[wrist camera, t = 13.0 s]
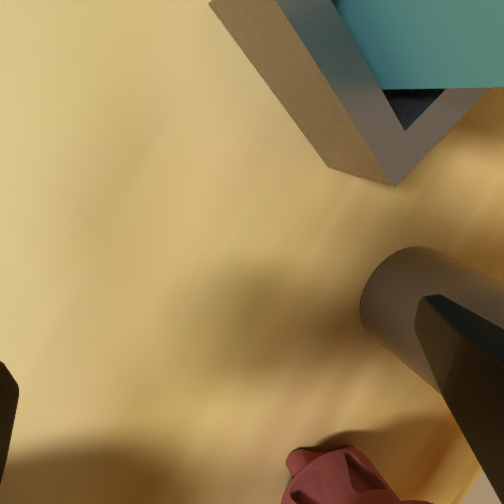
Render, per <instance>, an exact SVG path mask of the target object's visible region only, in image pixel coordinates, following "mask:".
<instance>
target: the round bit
mask: <svg viewBox="0 0 504 504" xmlns="http://www.w3.org/2000/svg"><path fill="white" fill-rule="evenodd" d="M431 294H441V295H443V296H445V297H447V298H449V299H451V300H453V301H454V302H456V303H458V304H460V305H462V306H464V307H465V308H467V309H469V310H471V311H473V312H475V313H476V314H478V315H480V316H482V317H484V318H485V319H487V320H489V321H491V322H493V323H495V324H496V325H498V326H500V327H502V328H504V283H503V282H501V281H498V280H496V279H494V278H492V277H490V276H487V275H485V274H483V273H481V272H479V271H476V270H474V269H472V268H470V267H467V266H465V265H463V264H461V263H459V262H456V261H454V260H452V259H450V258H448V257H445V256H443V255H441V254H439V253H436V252H434V251H432V250H430V249H428V248H424V247H418V246H416V247H409V248H405V249H402V250H400V251H398V252H396V253H394V254H392V255H391V256H389V257H388V258H387V259H385V260H384V261H383V262H382V263H381V264H380V265H379V266H378V267H377V268H376V270H375V271H374V272H373V274H372V275H371V276H370V278H369V280H368V282H367V283H366V286H365V288H364V290H363V293H362V297H361V302H360V317H361V322H362V324H363V326H364V328H365V330H366V331H367V332H368V333H369V334H370V335H371V336H373V337H374V338H375V339H376V340H377V341H378V342H380V343H381V344H382V345H383V346H384V347H386V348H387V349H388V350H389V351H390V352H391V353H393V354H394V355H395V356H396V357H397V358H399V359H400V360H401V361H402V362H403V363H404V364H406V365H407V366H408V367H409V368H410V369H412V370H413V371H414V372H415V373H416V374H418V375H419V376H420V377H421V378H422V379H423V380H425V381H426V382H427V383H428V384H429V385H431V386H432V387H433V388H434V389H435V390H436V391H438V392H439V393H440V394H441V392H440V390H439V387H438V385H437V383H436V381H435V378H434V376H433V373H432V371H431V369H430V366H429V364H428V362H427V359H426V357H425V354H424V352H423V350H422V347H421V345H420V342H419V340H418V338H417V335H416V333H415V329H414V320H415V315H416V310H417V306H418V301H419V299H420V297H422V296H425V295H431ZM441 395H442V394H441Z"/></svg>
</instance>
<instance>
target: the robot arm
mask: <svg viewBox="0 0 504 504" xmlns="http://www.w3.org/2000/svg"><path fill="white" fill-rule="evenodd" d="M414 329H415V333H416V335H417V338H418V340H419V342H420V345H421V347H422V350H423V352H424V354H425V357H426V359H427V362H428V364H429V366H430V369H431V371H432V373H433V376H434V378H435V381H436V383H437V385H438V387H439V390H440V392H441V394H442V396H443V398H444V400H445V402H446V404H447V406H448V407H449V409H450V411H451V413H452V415H453V416H454V418H455V420H456V422H457V424H458V425H459V427H460V429H461V431H462V433H463V434H464V436H465V438H466V440H467V442H468V444H469V445H470V447H471V449H472V451H473V453H474V454H475V456H476V458H477V460H478V462H479V463H480V465H481V467H482V469H483V471H484V472H485V474H486V476H487V478H488V480H489V481H490V483H491V485H492V487H493V489H494V490H495V492H496V494H497V496H498V498H499V499H500V501H501V503H502V504H504V328H502V327H500V326H498V325H496V324H495V323H493V322H491V321H489V320H487V319H485V318H484V317H482V316H480V315H478V314H476V313H475V312H473V311H471V310H469V309H467V308H465V307H464V306H462V305H460V304H458V303H456V302H454V301H453V300H451V299H449V298H447V297H445V296H443V295H441V294H431V295H425V296H422V297H420V299H419V301H418V306H417V310H416V315H415V320H414ZM18 398H19V387H18V384H17V382H16V381H15V379H14V378H13V376H12V375H11V373H10V372H9V370H8V369H7V367H6V366H5V364H4V363H3V362H1V361H0V483H1V480H2V476H3V473H4V469H5V465H6V460H7V456H8V451H9V446H10V440H11V435H12V430H13V425H14V419H15V414H16V409H17V404H18Z"/></svg>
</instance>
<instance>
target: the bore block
mask: <svg viewBox="0 0 504 504" xmlns="http://www.w3.org/2000/svg"><path fill="white" fill-rule="evenodd" d="M208 4H209V5H210V7H211V8H212V10H213V11H214V12H215V14H216V15H217V16H218V18H219V19H220V20H221V22H222V23H223V25H224V26H225V27H226V29H227V30H228V31H229V33H230V34H231V35H232V37H233V38H234V40H235V41H236V42H237V44H238V45H239V46H240V48H241V49H242V50H243V52H244V53H245V55H246V56H247V57H248V59H249V60H250V61H251V63H252V64H253V65H254V67H255V68H256V69H257V71H258V72H259V74H260V75H261V76H262V78H263V79H264V80H265V82H266V83H267V84H268V86H269V87H270V89H271V90H272V91H273V93H274V94H275V95H276V97H277V98H278V99H279V101H280V102H281V104H282V105H283V106H284V108H285V109H286V110H287V112H288V113H289V114H290V116H291V117H292V119H293V120H294V121H295V123H296V124H297V125H298V127H299V128H300V129H301V131H302V132H303V134H304V135H305V136H306V138H307V139H308V140H309V142H310V143H311V144H312V146H313V147H314V149H315V150H316V151H317V153H318V154H319V155H320V157H321V158H322V159H323V161H324V162H325V164H326V165H327V166H328V167H330V168H333V169H336V170H340V171H343V172H346V173H350V174H353V175H356V176H360V177H363V178H366V179H370V180H373V181H376V182H380V183H383V184H386V185H390V186H393V187H395V186H396V185H397V184H398V183H399V182H400V181H401V180H402V179H403V178H404V177H405V176H406V175H407V174H408V173H409V172H410V171H411V170H412V169H413V168H414V167H415V166H416V164H417V163H418V162H419V161H420V160H421V159H422V158H423V157H424V156H425V155H426V154H427V153H428V152H429V151H430V150H431V149H432V148H433V147H434V146H435V145H436V144H437V143H438V142H439V141H440V140H441V139H442V138H443V137H444V136H445V135H446V134H447V132H448V131H449V130H450V129H451V128H452V127H453V126H454V125H455V124H456V123H457V122H458V121H459V120H460V119H461V118H462V117H463V116H464V115H465V114H466V113H467V112H468V111H469V110H470V109H471V108H472V107H473V106H474V105H475V104H476V103H477V102H478V100H479V99H480V98H481V97H482V96H483V95H484V94H485V93H486V92H487V91H488V90H489V89H490V88H436V89H381V88H380V86H379V85H378V83H377V81H376V79H375V77H374V76H373V74H372V72H371V70H370V69H369V67H368V65H367V63H366V61H365V60H364V58H363V56H362V54H361V52H360V51H359V49H358V47H357V45H356V44H355V42H354V40H353V38H352V36H351V35H350V33H349V31H348V29H347V28H346V26H345V24H344V22H343V20H342V19H341V17H340V15H339V13H338V12H337V10H336V8H335V6H334V4H333V3H332V1H331V0H211V1H210V2H209V3H208Z"/></svg>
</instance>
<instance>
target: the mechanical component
mask: <svg viewBox="0 0 504 504" xmlns="http://www.w3.org/2000/svg"><path fill="white" fill-rule="evenodd" d="M286 466H287V467H288V469H289V471H290V473H291V475H292V477H293V479H292V480H291V482H290V483H289V484H288V486H287V488H286V490H285V492H284V494H283V497H282V500H281V504H433V503H430V502H427V501H417V500H405V501H400V499H399V498H398V497H397V496H396V494H395V493H394V492H393V490H392V489H391V488H390V487H389V485H388V484H387V483H386V481H385V480H384V479H383V478H382V476H381V475H380V474H379V472H378V471H377V470H376V468H375V467H374V466H373V465H372V463H371V462H370V461H369V459H368V458H367V457H366V456H365V455H364V454H363V453H362V452H360V451H358V450H356V449H355V448H354V447H352V446H346V447H343V448H340V449H337V450H333V451H328V452H312V451H308V450H305V449H297V450H294V451H293V452H291V453H290V455H289V456H288V458H287V460H286Z"/></svg>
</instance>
